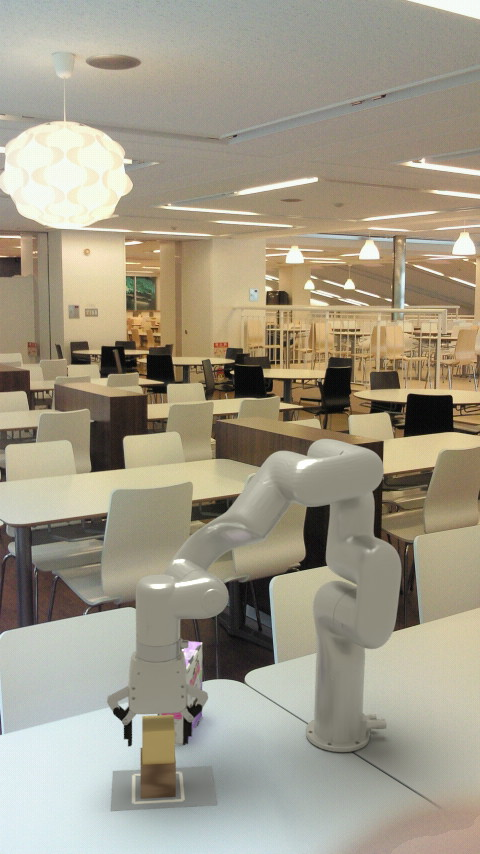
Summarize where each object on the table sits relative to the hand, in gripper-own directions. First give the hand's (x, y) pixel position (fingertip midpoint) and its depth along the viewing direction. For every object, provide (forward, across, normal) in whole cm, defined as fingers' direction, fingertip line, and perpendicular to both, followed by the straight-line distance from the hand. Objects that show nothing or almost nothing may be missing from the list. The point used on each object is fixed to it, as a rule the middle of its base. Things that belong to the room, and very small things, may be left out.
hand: (157, 741), depth 146 cm
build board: (+10, -1, 0) cm, 10 cm away
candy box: (+10, -5, -21) cm, 24 cm away
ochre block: (+3, 0, 0) cm, 3 cm away
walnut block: (+9, 0, 0) cm, 9 cm away
